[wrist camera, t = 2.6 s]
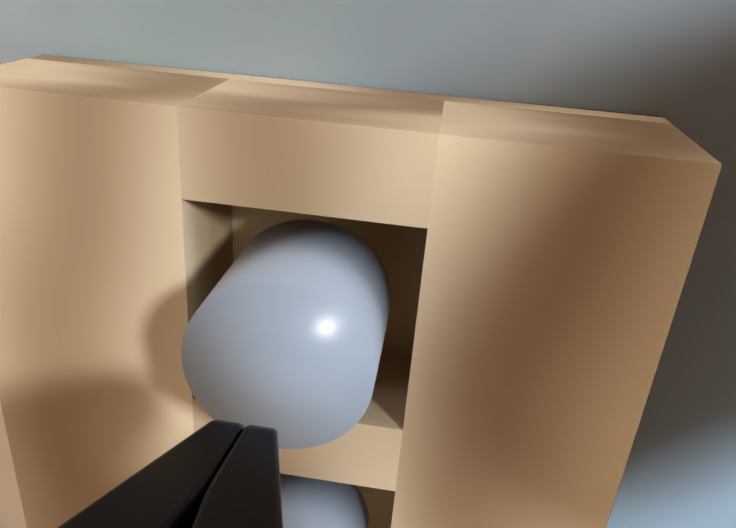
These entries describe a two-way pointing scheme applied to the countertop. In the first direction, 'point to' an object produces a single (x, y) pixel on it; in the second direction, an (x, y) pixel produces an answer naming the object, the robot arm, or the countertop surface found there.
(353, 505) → the button middle
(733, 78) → the countertop surface
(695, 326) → the countertop surface
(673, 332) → the countertop surface
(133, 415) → the button board
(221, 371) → the button
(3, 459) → the card
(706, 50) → the countertop surface
